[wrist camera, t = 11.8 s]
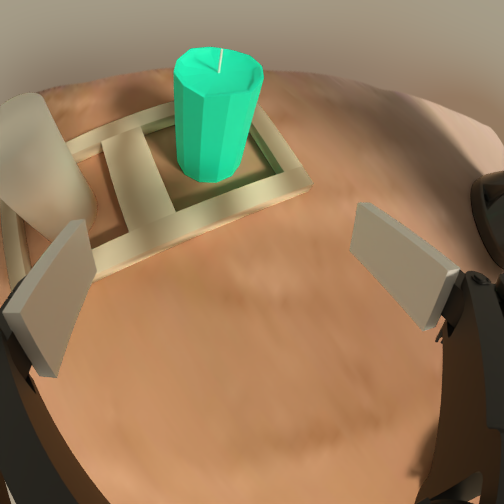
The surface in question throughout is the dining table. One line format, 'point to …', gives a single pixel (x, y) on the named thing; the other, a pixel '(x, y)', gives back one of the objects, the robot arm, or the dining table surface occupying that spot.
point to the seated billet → (40, 169)
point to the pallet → (160, 192)
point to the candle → (214, 110)
